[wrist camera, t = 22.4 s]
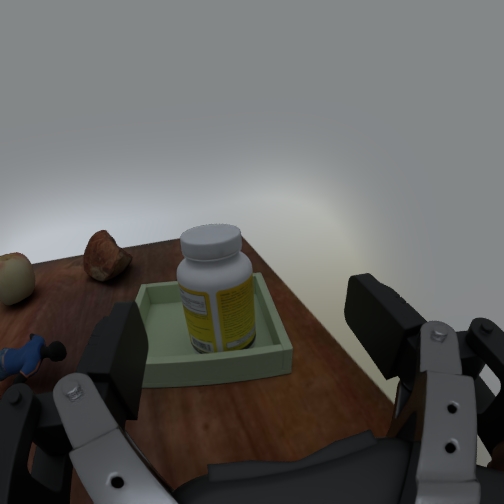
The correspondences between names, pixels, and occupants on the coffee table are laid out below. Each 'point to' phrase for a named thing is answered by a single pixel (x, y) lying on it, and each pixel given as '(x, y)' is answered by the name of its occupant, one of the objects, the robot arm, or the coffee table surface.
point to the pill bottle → (217, 289)
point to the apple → (15, 278)
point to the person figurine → (29, 358)
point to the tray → (211, 364)
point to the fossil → (104, 257)
